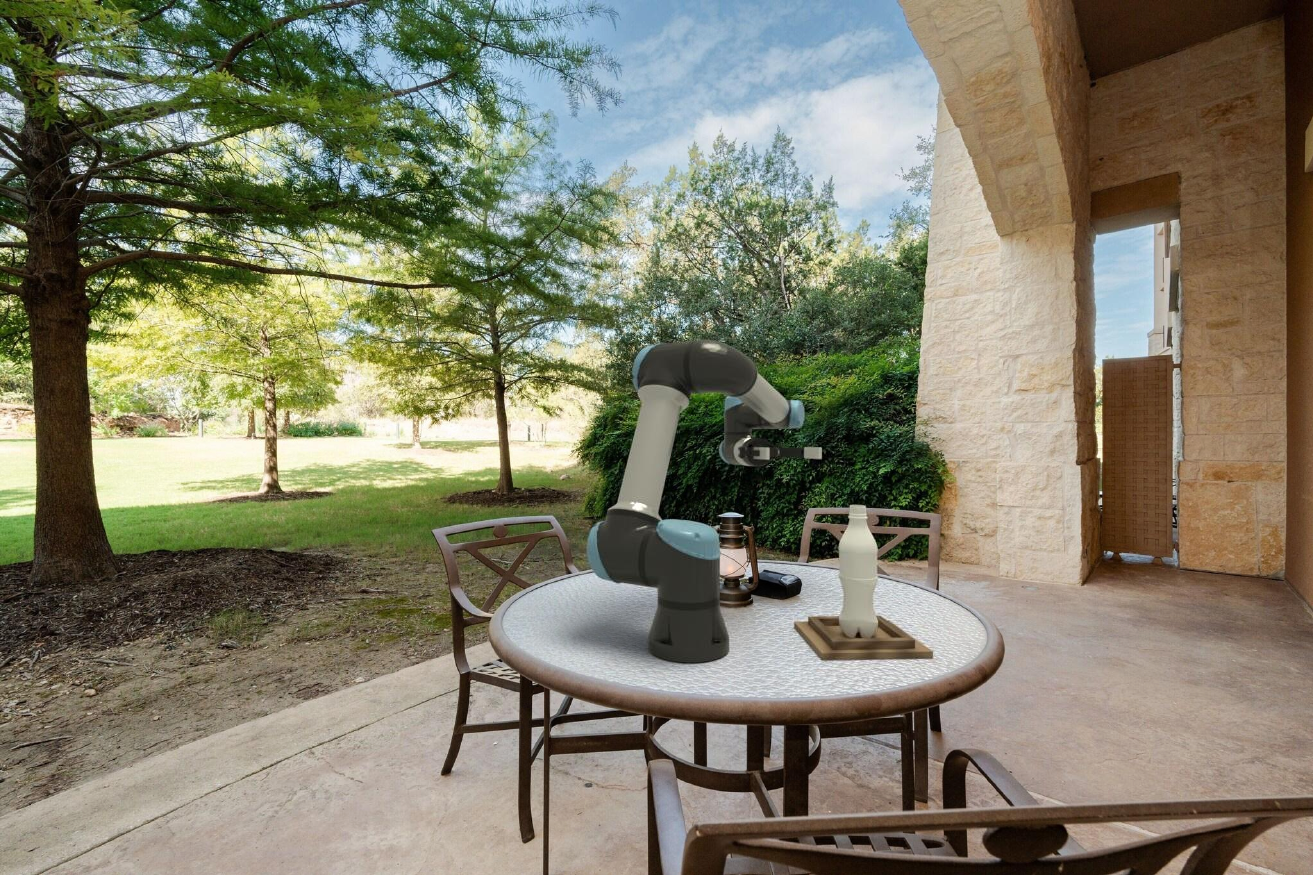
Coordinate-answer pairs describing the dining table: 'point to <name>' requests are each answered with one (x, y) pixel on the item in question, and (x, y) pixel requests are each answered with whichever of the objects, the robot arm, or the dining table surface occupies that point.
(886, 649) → the walnut tray
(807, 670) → the dining table surface
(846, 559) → the water bottle
